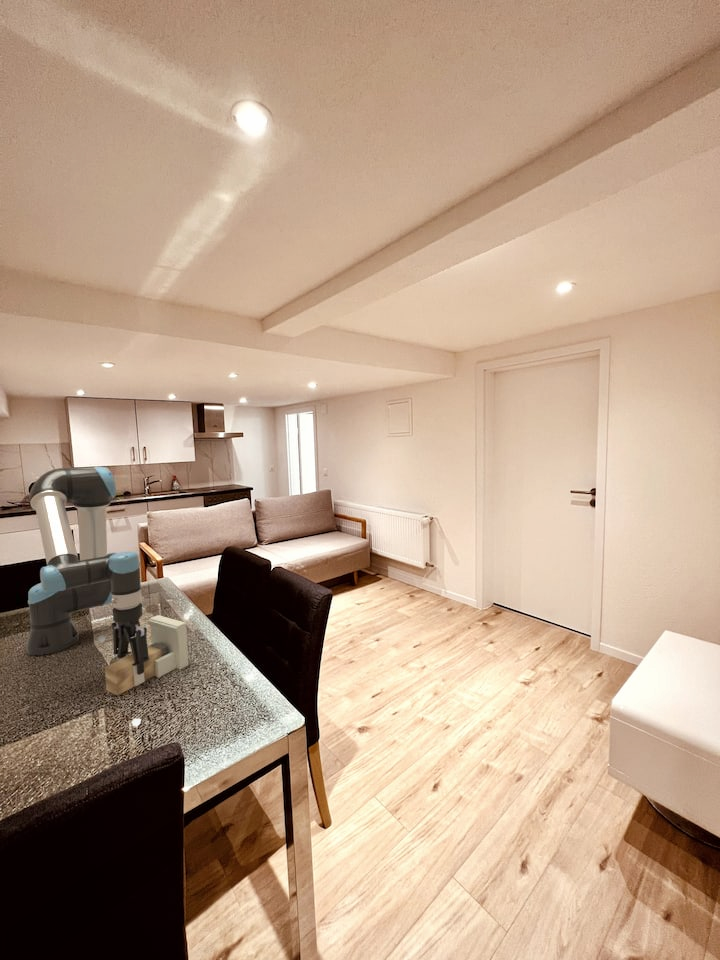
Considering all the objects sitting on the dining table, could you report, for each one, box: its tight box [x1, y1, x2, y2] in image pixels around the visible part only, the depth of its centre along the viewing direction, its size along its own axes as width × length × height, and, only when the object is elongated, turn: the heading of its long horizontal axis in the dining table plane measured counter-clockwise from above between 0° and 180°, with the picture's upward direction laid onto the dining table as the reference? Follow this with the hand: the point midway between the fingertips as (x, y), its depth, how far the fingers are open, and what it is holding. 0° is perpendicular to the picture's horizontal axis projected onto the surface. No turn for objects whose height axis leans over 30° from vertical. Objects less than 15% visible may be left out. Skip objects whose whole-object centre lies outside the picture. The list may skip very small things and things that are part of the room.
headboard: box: [147, 614, 189, 678], centre depth 128 cm, size 14×9×14 cm, turn 61°
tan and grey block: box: [104, 643, 168, 696], centre depth 121 cm, size 16×6×7 cm, turn 151°
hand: (132, 680), depth 120 cm, fingers open, 6 cm apart
